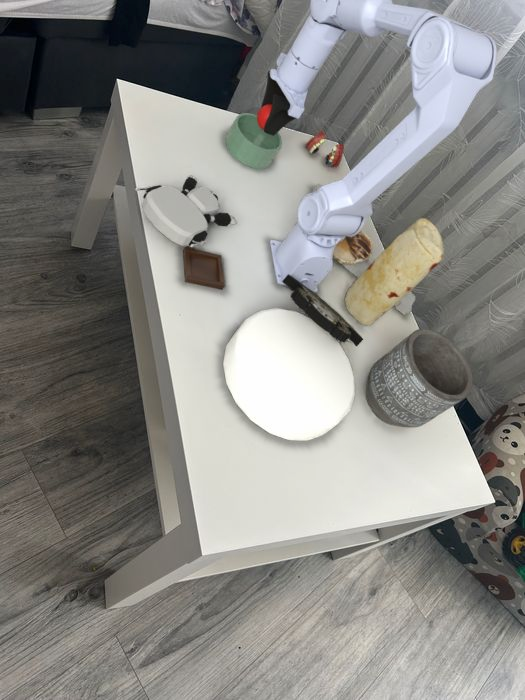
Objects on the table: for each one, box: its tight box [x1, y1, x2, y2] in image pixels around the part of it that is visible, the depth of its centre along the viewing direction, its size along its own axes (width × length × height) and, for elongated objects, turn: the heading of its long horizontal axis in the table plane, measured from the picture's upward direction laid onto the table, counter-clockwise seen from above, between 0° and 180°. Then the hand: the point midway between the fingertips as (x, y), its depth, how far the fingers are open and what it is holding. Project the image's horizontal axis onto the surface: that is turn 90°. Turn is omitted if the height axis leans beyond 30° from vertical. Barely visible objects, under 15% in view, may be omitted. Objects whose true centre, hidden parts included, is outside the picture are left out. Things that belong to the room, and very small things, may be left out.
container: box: [222, 307, 356, 442], centre depth 87 cm, size 20×20×5 cm
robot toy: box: [134, 174, 238, 248], centre depth 94 cm, size 12×4×15 cm
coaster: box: [182, 246, 226, 291], centre depth 92 cm, size 6×6×1 cm
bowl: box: [225, 112, 283, 170], centre depth 113 cm, size 10×10×4 cm
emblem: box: [282, 274, 364, 347], centre depth 93 cm, size 16×2×15 cm
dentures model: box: [305, 130, 345, 168], centre depth 124 cm, size 6×4×8 cm
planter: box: [365, 328, 474, 428], centre depth 92 cm, size 12×12×13 cm
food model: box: [344, 217, 444, 327], centre depth 98 cm, size 10×7×20 cm
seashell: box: [333, 230, 374, 265], centre depth 105 cm, size 8×6×10 cm
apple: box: [256, 104, 272, 130], centre depth 105 cm, size 5×5×5 cm
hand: (266, 123), depth 106 cm, fingers closed on apple, 4 cm apart
